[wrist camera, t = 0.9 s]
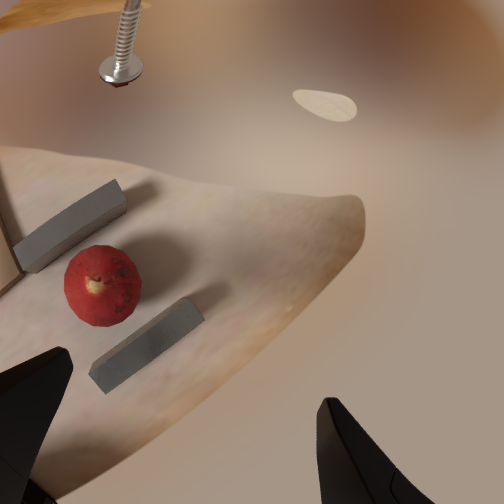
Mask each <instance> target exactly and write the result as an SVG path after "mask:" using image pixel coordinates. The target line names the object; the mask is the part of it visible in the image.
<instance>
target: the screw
mask: <svg viewBox="0 0 504 504" xmlns="http://www.w3.org/2000/svg"><path fill="white" fill-rule="evenodd" d="M140 4H141V0H126V3H125V4H124V5H125V7H124V8H123V9H122V10H121V11H122V12H123V13H122V14H120V17H121V18H120V19H119V22H120V23H119V24H118V26H119V28H118V33H117V37H116V40H117V41H116V43H115V44H116V46H115V51H114V52H115V54H114V55H113V56H110V57H109V58H107V59H105V60H104V61H103V62H102V63H101V65H100V67H99V76H100V78H101V79H102V80H103V81H105V82H106V83H109V84H111V85H112V86H114V87H115V88H117V87H121V86H125V85H128V83H129V82H132V81H133V80H135V79H137V78H138V77H139V76H140V74H141V73H142V70H143V63H142V61H141V60H140V59H139V58H138V57H137V56H135V55H132V50H133V45H134V41H135V36H136V32H137V28H138V23H139V19H140V14H141V9H142V6H141V5H140Z"/></svg>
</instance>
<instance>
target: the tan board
mask: <svg viewBox="0 0 504 504" xmlns="http://www.w3.org/2000/svg"><path fill="white" fill-rule="evenodd" d="M24 276H25V273H24V271H23V269H22V267H21V265H20V263H19V261H18V259H17V256H16V254H15V252H14V250H13V246H12V244H11V241H10V239H9V236H8V234H7V231H6V229H5V226H4V223H3V221H2V218H1V215H0V296H1V295H2V294H4V293H5V292H6V291H7V290H8V289H9V288H11V287H12V286H13V285H14V284H15V283H17V282H18V281H19V280H20V279H21V278H23V277H24Z"/></svg>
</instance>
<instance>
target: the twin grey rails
mask: <svg viewBox="0 0 504 504" xmlns="http://www.w3.org/2000/svg"><path fill="white" fill-rule="evenodd" d="M126 205H127V199H126V197H125V195H124V194H123V192H122V190H121V188H120V186H119V185H118V183H117V181H116V179H114V180H112V181H110V182H109V183H107V184H105V185H103V186H102V187H100V188H98V189H97V190H95V191H93V192H92V193H90V194H88V195H87V196H85V197H83V198H82V199H80V200H79V201H77V202H75V203H74V204H72V205H71V206H69V207H68V208H66V209H65V210H63V211H62V212H60V213H59V214H57V215H56V216H54V217H53V218H51V219H50V220H49V221H47V222H46V223H44V224H43V225H42V226H40V227H39V228H37V229H36V230H35V231H33V232H32V233H31V234H29V235H28V236H27V237H25V238H24V239H23V240H22V241H20V242H19V243H18V244H17V245H15V246H14V247H13V250H14V252H15V254H16V256H17V259H18V261H19V263H20V265H21V267H22V269H23V271H27V272H31V273H35V274H37V273H38V272H39V271H40V270H42V269H43V268H44V267H46V266H47V265H48V264H50V263H51V262H52V261H54V260H55V259H56V258H58V257H59V256H61V255H62V254H63V253H65V252H66V251H68V250H69V249H70V248H72V247H73V246H75V245H76V244H78V243H79V242H81V241H82V240H83V239H85V238H86V237H88V236H89V235H91V234H92V233H94V232H95V231H97V230H98V229H100V228H102V227H103V226H105V225H106V224H108V223H109V222H111V221H113V220H114V219H116V218H117V217H119V216H121V215H122V214H124V213H126ZM203 321H205V319H204V318H203V316H202V315H201V313H200V312H199V311H198V309H197V308H196V306H195V305H194V304H193V302H192V301H191V299H184V298H181V299H179V300H178V301H177V302H175V303H174V304H172V305H171V306H170V307H168V308H167V309H166V310H164V311H163V312H162V313H160V314H159V315H157V316H156V317H155V318H153V319H152V320H151V321H149V322H148V323H147V324H145V325H144V326H142V327H141V328H140V329H138V330H137V331H136V332H134V333H133V334H132V335H130V336H129V337H127V338H126V339H125V340H123V341H122V342H121V343H119V344H118V345H117V346H115V347H114V348H113V349H111V350H110V351H108V352H107V353H106V354H104V355H103V356H102V357H100V358H99V359H98V360H96V361H95V362H94V363H93V364H92V366H91V369H90V371H89V375H90V377H91V378H92V379H93V380H94V382H95V383H96V384H97V385H98V386H99V387H100V389H101V390H102V391H103V392H104V393H105V394H107V393H108V392H110V391H111V390H113V389H114V388H115V387H117V386H118V385H119V384H121V383H122V382H124V381H125V380H126V379H128V378H129V377H130V376H132V375H133V374H134V373H136V372H137V371H139V370H140V369H141V368H143V367H144V366H145V365H147V364H148V363H149V362H151V361H152V360H153V359H155V358H156V357H157V356H159V355H160V354H161V353H163V352H164V351H165V350H167V349H168V348H169V347H171V346H172V345H173V344H175V343H176V342H177V341H178V340H180V339H181V338H182V337H184V336H185V335H186V334H188V333H189V332H190V331H192V330H193V329H194V328H195V327H197V326H198V325H199V324H201V323H202V322H203Z"/></svg>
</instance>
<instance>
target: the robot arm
mask: <svg viewBox="0 0 504 504" xmlns="http://www.w3.org/2000/svg"><path fill="white" fill-rule="evenodd" d="M72 372H73V363H72V360H71V357H70V354H69V352H68V350H67V349H65V348H62V347H60V346H58V347H55V348H53V349H51V350H49V351H46V352H44V353H42V354H40V355H38V356H36V357H34V358H31V359H29V360H27V361H25V362H23V363H21V364H19V365H16V366H14V367H12V368H10V369H8V370H6V371H4V372H1V373H0V504H53V503H54V504H57V502H56V501H55V500H54V499H52V498H51V497H50V496H49V495H47V494H46V493H45V492H44V491H43V490H41V489H40V488H39V487H38V486H37V485H36V484H35V483H33V482H32V481H31V480H30V479H29V475H30V473H31V470H32V467H33V465H34V462H35V460H36V457H37V455H38V452H39V450H40V447H41V445H42V443H43V440H44V438H45V436H46V433H47V431H48V429H49V427H50V424H51V422H52V420H53V418H54V416H55V414H56V412H57V410H58V408H59V405H60V403H61V401H62V398H63V396H64V393H65V390H66V387H67V385H68V382H69V380H70V377H71V374H72ZM317 464H318V473H319V482H320V491H321V500H322V504H435V503H434V502H432V501H431V500H430V499H429V498H427V497H426V496H425V495H424V494H423V493H421V492H420V491H419V490H418V489H417V488H416V487H415V486H414V485H413V484H412V483H411V482H410V481H409V480H408V479H407V478H406V477H405V476H404V475H403V474H402V473H401V472H400V471H399V469H398V468H396V466H395V465H394V464H393V463H392V462H391V461H390V459H389V458H388V457H387V456H386V455H385V453H384V452H383V451H382V450H381V449H380V448H379V447H378V445H376V443H375V442H374V441H373V440H372V438H371V437H370V436H369V435H368V434H367V433H366V431H365V430H364V429H363V428H362V427H361V426H360V424H359V423H358V422H357V421H356V420H355V419H354V417H353V416H352V415H351V414H350V413H349V412H348V410H347V409H346V408H345V406H344V405H343V404H342V403H341V402H340V400H339V399H338V398H335V397H328V398H325V399H324V400H323V402H322V404H321V406H320V408H319V410H318V412H317Z"/></svg>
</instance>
